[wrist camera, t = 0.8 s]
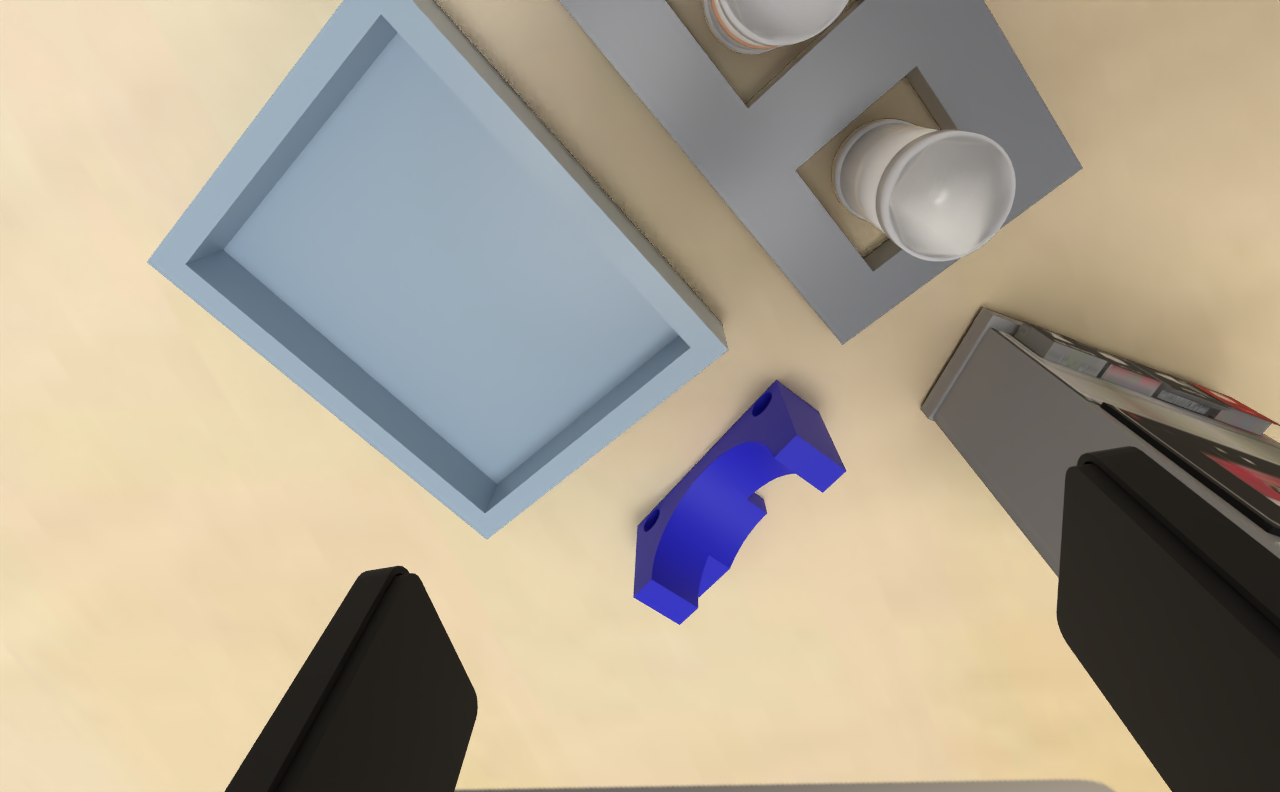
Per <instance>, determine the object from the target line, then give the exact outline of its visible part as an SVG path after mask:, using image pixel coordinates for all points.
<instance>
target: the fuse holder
mask: <svg viewBox="0 0 1280 792" xmlns="http://www.w3.org/2000/svg"><path fill="white" fill-rule="evenodd" d="M559 1H560V3H561V4H562V5H563V6H564V7H565V9H566V10H567V11H568V12H569V13H570V15H571V16H572V17H573V18H574V20H575V21H576V22H577V23H578V24H579V26H580V27H581V28H582V29H583V30H584V32H585V33H586V34H587V35H588V37H589V38H590V39H591V40H592V41H593V43H594V44H595V45H596V46H597V47H598V49H599V50H600V51H601V52H602V53H603V55H604V56H605V57H606V58H607V60H608V61H609V62H610V63H611V64H612V66H613V67H614V68H615V69H616V70H617V72H618V73H619V74H620V75H621V77H622V78H623V79H624V80H625V81H626V83H627V84H628V85H629V86H630V87H631V89H632V90H633V91H634V92H635V94H636V95H637V96H638V97H639V98H640V100H641V101H642V102H643V103H644V104H645V106H646V107H647V108H648V109H649V111H650V112H651V113H652V114H653V115H654V117H655V118H656V119H657V120H658V121H659V123H660V124H661V125H662V126H663V128H664V129H665V130H666V131H667V132H668V134H669V135H670V136H671V137H672V138H673V140H674V141H675V142H676V143H677V144H678V146H679V147H680V148H681V149H682V151H683V152H684V153H685V154H686V155H687V157H688V158H689V159H690V160H691V161H692V163H693V164H694V165H695V166H696V168H697V169H698V170H699V171H700V172H701V174H702V175H703V176H704V177H705V178H706V180H707V181H708V182H709V183H710V185H711V186H712V187H713V188H714V189H715V191H716V192H717V193H718V194H719V195H720V197H721V198H722V199H723V200H724V202H725V203H726V204H727V205H728V206H729V208H730V209H731V210H732V211H733V212H734V214H735V215H736V216H737V217H738V218H739V220H740V221H741V222H742V223H743V225H744V226H745V227H746V228H747V229H748V231H749V232H750V233H751V234H752V235H753V237H754V238H755V239H756V240H757V242H758V243H759V244H760V245H761V246H762V248H763V249H764V250H765V251H766V252H767V254H768V255H769V256H770V257H771V259H772V260H773V261H774V262H775V263H776V265H777V266H778V267H779V268H780V269H781V271H782V272H783V273H784V274H785V276H786V277H787V278H788V279H789V280H790V282H791V283H792V284H793V285H794V286H795V288H796V289H797V290H798V291H799V293H800V294H801V295H802V296H803V297H804V299H805V300H806V301H807V302H808V303H809V305H810V306H811V307H812V308H813V309H814V311H815V312H816V313H817V314H818V316H819V317H820V318H821V319H822V320H823V322H824V323H825V324H826V325H827V326H828V328H829V329H830V330H831V331H832V333H833V334H834V335H835V336H836V337H837V339H838V340H839V341H840V342H841V343H842V345H843V344H844V343H846V342H847V341H848V340H850V339H851V338H852V337H854V336H855V335H856V334H858V333H859V332H861V331H862V330H863V329H865V328H866V327H867V326H869V325H870V324H871V323H873V322H874V321H876V320H877V319H878V318H880V317H881V316H882V315H884V314H885V313H886V312H888V311H889V310H890V309H892V308H893V307H895V306H896V305H897V304H899V303H900V302H901V301H903V300H904V299H905V298H907V297H908V296H909V295H911V294H912V293H914V292H915V291H916V290H918V289H919V288H920V287H922V286H923V285H924V284H926V283H927V282H929V281H930V280H931V279H933V278H934V277H935V276H937V275H938V274H939V273H941V272H942V271H943V270H945V269H946V268H948V267H949V266H950V265H952V264H953V263H954V262H956V261H957V260H958V259H960V258H961V257H960V258H957V259H953V260H949V261H927V260H923V259H919V258H917V257H915V256H912V255H911V254H909V253H907V252H906V251H904V250H903V249H902V248H900V247H899V246H897V245H896V244H895V243H894V242H892V241H891V240H890V239H888V240H887V241H886V242H884V243H883V244H882V245H881V246H879V247H878V248H877V249H875V250H874V251H873V252H872V253H870V254H869V255H868V256H866V257H865V258H864V259H863V258H862V257H861V255H860V254H859V253H858V251H857V250H856V249H855V248H854V246H853V245H852V244H851V242H850V241H849V240H848V238H847V237H846V236H845V235H844V233H843V232H842V231H841V229H840V228H839V227H838V225H837V224H836V223H835V221H834V220H833V219H832V218H831V216H830V215H829V214H828V212H827V211H826V210H825V208H824V207H823V206H822V204H821V203H820V202H819V201H818V199H817V198H816V197H815V195H814V194H813V193H812V191H811V190H810V189H809V188H808V186H807V185H806V184H805V182H804V181H803V180H802V178H801V177H800V176H799V174H798V173H797V172H796V171H795V170H797V169H798V168H799V167H800V166H801V165H802V164H803V163H805V162H806V161H807V160H808V159H809V158H810V157H812V156H813V155H814V154H815V153H816V152H817V151H819V150H820V149H821V148H822V147H823V146H824V145H826V144H827V143H828V142H829V141H830V140H831V139H832V138H834V137H835V136H836V135H837V134H838V133H839V132H841V131H842V130H843V129H844V128H845V127H846V126H848V125H849V124H850V123H851V122H852V121H853V120H855V119H856V118H857V117H858V116H859V115H860V114H861V113H863V112H864V111H865V110H866V109H867V108H868V107H870V106H871V105H872V104H873V103H874V102H875V101H877V100H878V99H879V98H880V97H881V96H882V95H883V94H885V93H886V92H887V91H888V90H889V89H890V88H892V87H893V86H894V85H895V84H896V83H897V82H899V81H900V80H901V79H902V78H903V77H904V76H906V77H907V78H908V80H909V81H910V83H911V84H912V86H913V87H914V89H915V90H916V92H917V93H918V95H919V96H920V98H921V99H922V101H923V103H924V104H925V106H926V107H927V109H928V110H929V112H930V113H931V115H932V116H933V118H934V119H935V121H936V122H937V124H938V125H939V127H940V128H941V130H960V131H966V132H972V133H977V134H980V135H984V136H986V137H988V138H990V139H992V140H993V141H995V142H996V143H998V144H999V145H1000V146H1001V147H1002V148H1003V149H1004V151H1005V152H1006V153H1007V155H1008V156H1009V158H1010V160H1011V162H1012V165H1013V168H1014V172H1015V179H1016V188H1015V196H1014V200H1013V204H1012V207H1011V210H1010V212H1009V214H1008V216H1007V218H1006V220H1005V222H1004V223H1003V225H1002V226H1001V228H1002V227H1003V226H1005V225H1006V224H1007V223H1009V222H1010V221H1011V220H1013V219H1014V218H1016V217H1017V216H1018V215H1020V214H1021V213H1022V212H1024V211H1025V210H1026V209H1028V208H1029V207H1030V206H1032V205H1033V204H1035V203H1036V202H1037V201H1039V200H1040V199H1041V198H1043V197H1044V196H1045V195H1047V194H1048V193H1049V192H1051V191H1052V190H1054V189H1055V188H1056V187H1058V186H1059V185H1060V184H1062V183H1063V182H1064V181H1066V180H1067V179H1069V178H1070V177H1071V176H1073V175H1074V174H1075V173H1077V172H1078V171H1079V170H1081V169H1082V166H1081V164H1080V162H1079V161H1078V159H1077V157H1076V156H1075V154H1074V152H1073V151H1072V149H1071V147H1070V146H1069V144H1068V142H1067V140H1066V139H1065V137H1064V135H1063V134H1062V132H1061V130H1060V129H1059V127H1058V125H1057V124H1056V122H1055V120H1054V119H1053V117H1052V115H1051V113H1050V112H1049V110H1048V108H1047V107H1046V105H1045V103H1044V102H1043V100H1042V98H1041V97H1040V95H1039V93H1038V91H1037V90H1036V88H1035V86H1034V85H1033V83H1032V81H1031V80H1030V78H1029V76H1028V75H1027V73H1026V71H1025V69H1024V68H1023V66H1022V64H1021V63H1020V61H1019V59H1018V58H1017V56H1016V54H1015V53H1014V51H1013V49H1012V48H1011V46H1010V44H1009V42H1008V41H1007V39H1006V37H1005V36H1004V34H1003V32H1002V31H1001V29H1000V27H999V26H998V24H997V22H996V20H995V19H994V17H993V15H992V14H991V12H990V10H989V9H988V7H987V5H986V4H985V2H984V0H856V2H855V3H854V4H853V5H852V6H850V7H849V8H848V9H847V10H846V11H845V12H844V13H843V14H842V15H841V16H840V17H839V18H838V19H836V20H835V21H834V22H833V23H832V24H831V25H830V26H829V27H828V28H827V29H826V30H825V31H824V32H822V33H821V34H820V35H819V36H818V37H817V38H816V39H815V40H814V41H813V42H812V43H811V44H810V45H809V46H807V47H806V48H805V49H804V50H803V51H802V52H801V53H800V54H799V55H798V56H797V57H796V58H795V59H793V60H792V61H791V62H790V63H789V64H788V65H787V66H786V67H785V68H784V69H783V70H782V71H781V72H780V73H778V74H777V75H776V76H775V77H774V78H773V79H772V80H771V81H770V82H769V83H768V84H767V85H766V86H764V87H763V88H762V89H761V90H760V91H759V92H758V93H757V94H756V95H755V96H754V97H753V98H752V99H751V100H749V101H748V102H747V103H746V104H744V103H743V101H742V100H741V99H740V97H739V96H738V95H737V94H736V92H735V91H734V90H733V88H732V87H731V86H730V84H729V83H728V82H727V80H726V79H725V78H724V77H723V75H722V74H721V73H720V71H719V70H718V69H717V67H716V66H715V65H714V63H713V62H712V61H711V60H710V58H709V57H708V56H707V54H706V53H705V52H704V50H703V49H702V48H701V47H700V45H699V44H698V43H697V41H696V40H695V39H694V37H693V36H692V35H691V33H690V32H689V31H688V30H687V28H686V27H685V26H684V24H683V23H682V22H681V20H680V19H679V18H678V16H677V15H676V14H675V13H674V11H673V10H672V9H671V7H670V6H669V5H668V3H667V2H666V1H665V0H559ZM1001 228H1000V229H1001Z"/></svg>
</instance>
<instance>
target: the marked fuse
mask: <svg viewBox="0 0 1280 792" xmlns="http://www.w3.org/2000/svg"><path fill="white" fill-rule="evenodd" d="M848 1H849V0H703V10H704V15H705V18H706V21H707V24H708V26H709V28H710V30H711V32H712V33H713V35H714V36H715V37H716V38H717V40H718V41H719V42H720V43H722V44H723V45H724V46H725V47H727V48H729V49H730V50H733V51H735V52H738V53H741V54H760V53H764V52H767V51H770V50H773V49H775V48H777V47H781V46H787V45H792V44H795V43H799V42H802V41H805V40H807V39H809V38H811V37H814V36H815V35H817V34H818V33H820V32H822V31H823V30H824V29H825V28H827V27H828V26H829V25H830V24H831V23H832V22H833V21H834V20H835V19H836V18H837V17H838V16H839V14H840V13H841V12H842V10H843V9H844V8H845V6H846V4H847V3H848Z"/></svg>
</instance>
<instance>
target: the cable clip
mask: <svg viewBox="0 0 1280 792" xmlns="http://www.w3.org/2000/svg"><path fill="white" fill-rule="evenodd" d="M845 472H846V469H845V467H844V465H843V463H842V461H841V459H840V456H839V454H838V452H837V450H836V448H835V446H834V444H833V441H832V439H831V437H830V435H829V433H828V431H827V429H826V426H825V424H824V422H823V420H822V418H821V416H820V414H819V411H817V410H816V409H815V408H813V407H812V406H810V405H809V404H808V403H806V402H805V401H804V400H802V399H801V398H800V397H798V396H797V395H796V394H794V393H793V392H792V391H790V390H789V389H788V388H786V387H785V386H784V385H782V384H781V383H780V382H778V381H777V380H776V381H775V382H774V383H773V384H772V385H771V386H770V387H769V388H768V389H767V390H766V391H765V392H764V393H763V394H762V396H761V397H760V398H759V399H758V400H757V401H756V402H755V403H754V404H753V405H752V406H751V407H750V408H749V409H748V410H747V411H746V412H745V413H744V414H743V416H742V417H741V418H740V419H739V420H738V421H737V422H736V423H735V424H734V425H733V426H732V427H731V428H730V429H729V430H728V431H727V432H726V433H725V435H724V436H723V437H722V438H721V439H720V440H719V441H718V442H717V443H716V444H715V445H714V446H713V447H712V448H711V449H710V450H709V451H708V452H707V453H706V455H705V456H704V457H703V458H702V459H701V460H700V461H699V462H698V463H697V464H696V465H695V466H694V467H693V468H692V469H691V470H690V471H689V472H688V474H687V475H686V476H685V477H684V478H683V479H682V480H681V481H680V482H679V483H678V484H677V485H676V486H675V487H674V488H673V489H672V490H671V491H670V492H669V494H668V495H667V496H666V497H665V498H664V499H663V500H662V501H661V502H660V503H659V504H658V505H657V506H656V507H655V508H654V509H653V510H652V511H651V512H650V514H649V515H648V516H647V517H646V518H645V519H644V520H643V521H642V522H641V523H640V524H639V525H638V529H637V546H636V563H635V579H634V596H633V597H634V598H636V599H637V600H639V601H641V602H642V603H644V604H646V605H647V606H649V607H651V608H652V609H654V610H656V611H657V612H659V613H661V614H662V615H664V616H666V617H667V618H669V619H671V620H672V621H674V622H676V623H677V624H679V625H680V624H681V623H682V622H683V621H684V620H686V619H687V618H688V617H689V616H690V615H691V614H692V613H693V612H694V611H695V610H696V609H697V608H698V597H700V596H701V595H702V594H703V593H704V592H705V591H706V590H707V589H709V588H710V587H711V586H712V585H713V584H714V583H715V582H716V581H717V580H718V579H719V578H720V577H721V576H722V575H724V574H725V573H726V572H727V571H728V570H729V569H730V567H731V565H732V563H733V560H734V558H735V556H736V554H737V552H738V551H739V549H740V547H741V545H742V544H743V542H744V541H745V539H746V538H747V536H748V535H749V533H750V532H751V531H752V529H753V528H754V527H755V526H756V524H757V523H758V522H759V521H760V520H761V519H762V518H763V517H764V516H765V515H766V514H767V511H766V507H765V503H764V499H763V498H761V497H760V496H758V495H757V494H755V493H754V492H755V491H756V490H758V489H759V488H760V487H762V486H763V485H765V484H766V483H768V482H770V481H771V480H773V479H775V478H778V477H780V476H783V475H787V474H797V475H799V476H800V477H801V478H803V479H804V480H806V481H807V482H808V483H810V484H811V485H813V486H814V487H815V488H817V489H818V490H820V491H821V492H822V493H823V492H824V491H825V490H826V489H827V488H828V487H829V486H831V485H832V484H833V483H834V482H835V481H836V480H837V479H838V478H839V477H840V476H841V475H842V474H843V473H845Z"/></svg>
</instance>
